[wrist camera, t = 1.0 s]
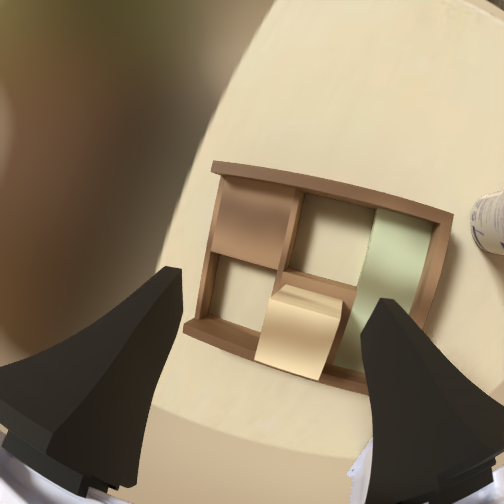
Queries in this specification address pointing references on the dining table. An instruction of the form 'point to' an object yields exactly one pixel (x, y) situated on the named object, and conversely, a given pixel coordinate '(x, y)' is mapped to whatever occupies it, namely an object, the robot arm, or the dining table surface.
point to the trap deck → (278, 257)
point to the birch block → (298, 331)
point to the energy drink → (489, 222)
